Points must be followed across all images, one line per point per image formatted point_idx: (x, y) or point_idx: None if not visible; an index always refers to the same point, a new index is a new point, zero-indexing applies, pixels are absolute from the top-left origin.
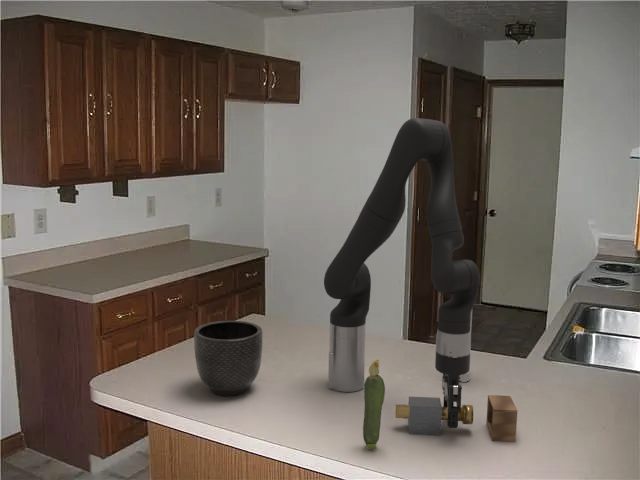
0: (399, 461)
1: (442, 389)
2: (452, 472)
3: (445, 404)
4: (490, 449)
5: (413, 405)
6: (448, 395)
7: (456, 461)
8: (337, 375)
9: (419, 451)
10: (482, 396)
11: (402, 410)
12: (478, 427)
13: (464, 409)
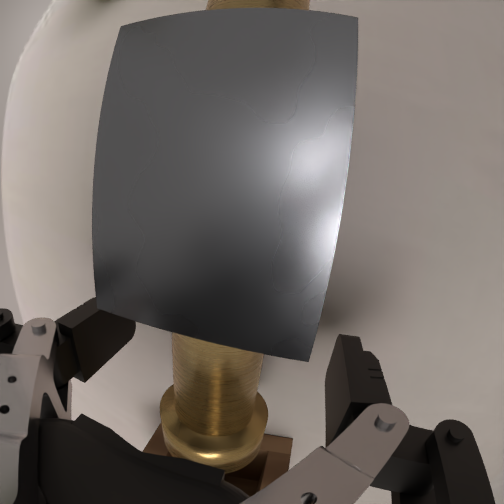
0: (41, 80)
1: (316, 449)
2: (7, 224)
3: (340, 366)
4: (114, 376)
5: (120, 51)
6: (83, 420)
7: (38, 250)
8: None
9: (74, 135)
10: (481, 446)
11: (208, 3)
12: (272, 414)
13: (167, 429)
